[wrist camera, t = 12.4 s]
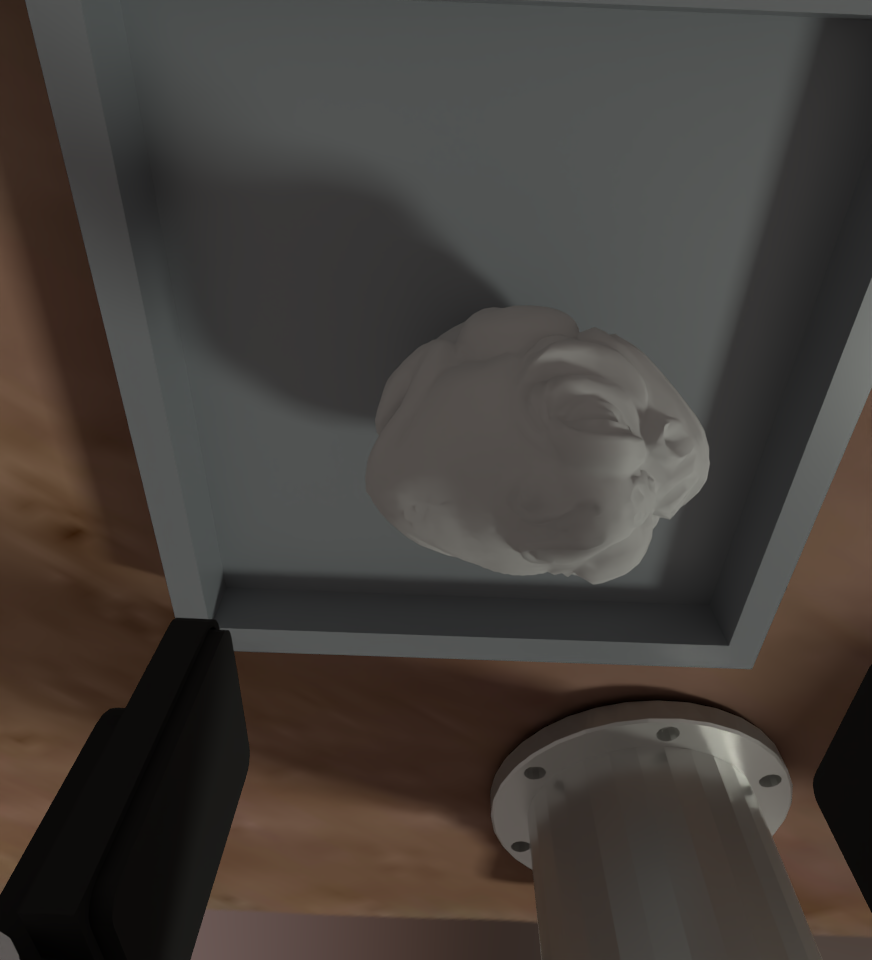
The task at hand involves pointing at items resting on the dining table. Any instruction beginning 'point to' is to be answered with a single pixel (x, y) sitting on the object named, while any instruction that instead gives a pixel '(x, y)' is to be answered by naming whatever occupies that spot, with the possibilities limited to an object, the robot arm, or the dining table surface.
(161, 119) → the tray
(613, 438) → the frog figurine
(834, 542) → the dining table surface
